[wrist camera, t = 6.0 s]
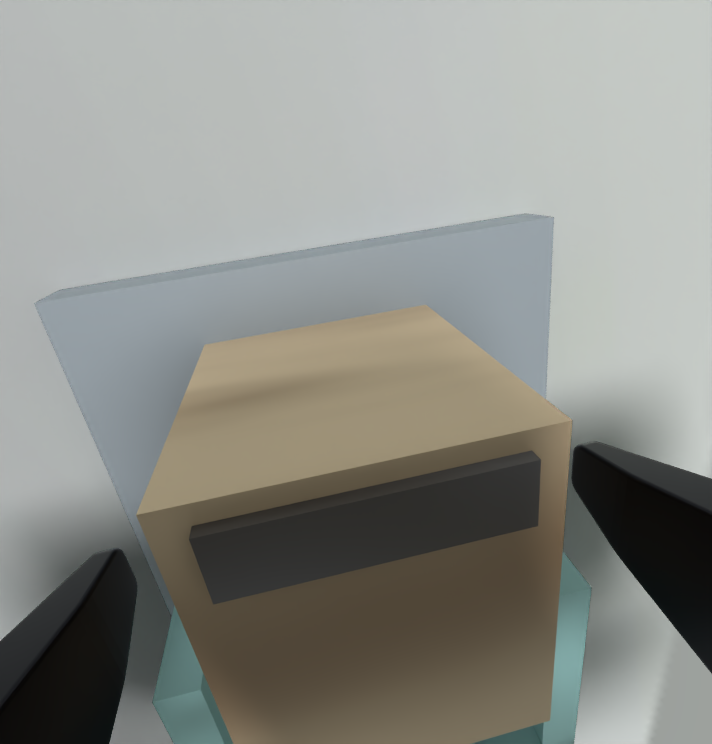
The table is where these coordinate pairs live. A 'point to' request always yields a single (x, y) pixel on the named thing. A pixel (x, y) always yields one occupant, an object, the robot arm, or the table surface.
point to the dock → (288, 311)
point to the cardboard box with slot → (364, 533)
